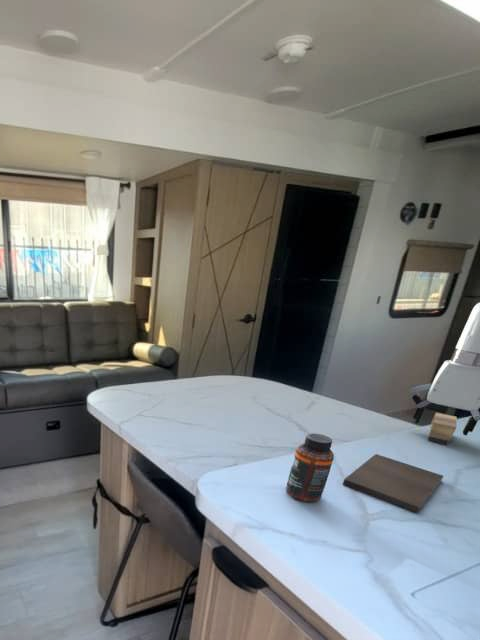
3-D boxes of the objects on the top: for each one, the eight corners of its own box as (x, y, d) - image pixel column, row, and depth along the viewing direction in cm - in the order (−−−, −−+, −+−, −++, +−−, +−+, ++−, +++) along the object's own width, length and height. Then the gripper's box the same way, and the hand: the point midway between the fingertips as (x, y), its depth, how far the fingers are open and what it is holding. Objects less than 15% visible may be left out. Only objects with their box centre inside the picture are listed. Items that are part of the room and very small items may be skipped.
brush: (428, 429, 106) (436, 412, 104) (448, 433, 103) (456, 416, 101) (426, 440, 99) (434, 422, 97) (447, 445, 96) (456, 427, 94)
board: (373, 458, 88) (375, 453, 88) (441, 481, 80) (443, 475, 80) (342, 484, 77) (344, 478, 77) (416, 513, 69) (419, 507, 69)
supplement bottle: (327, 497, 73) (346, 440, 68) (309, 507, 70) (328, 448, 65) (296, 482, 77) (312, 428, 72) (278, 491, 74) (293, 434, 69)
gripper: (521, 364, 90) (484, 434, 98) (427, 349, 100) (400, 414, 108) (525, 370, 85) (485, 443, 93) (425, 354, 95) (397, 421, 102)
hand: (439, 427), depth 100 cm, fingers open, 9 cm apart
